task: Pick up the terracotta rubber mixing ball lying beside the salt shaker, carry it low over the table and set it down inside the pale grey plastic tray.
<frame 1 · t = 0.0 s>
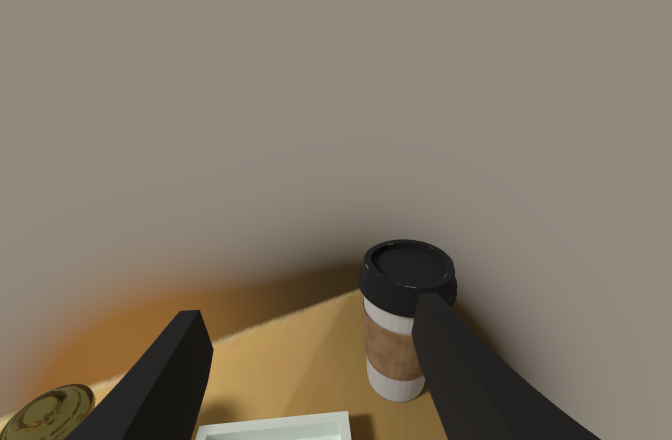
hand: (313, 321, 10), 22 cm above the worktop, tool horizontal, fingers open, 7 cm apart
coffee cup: (395, 376, 32), on the worktop
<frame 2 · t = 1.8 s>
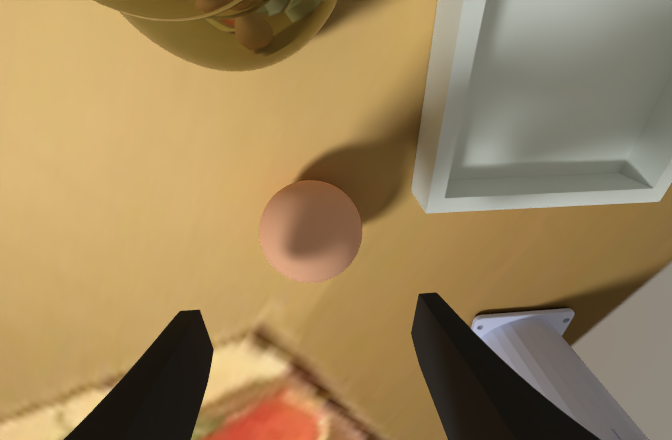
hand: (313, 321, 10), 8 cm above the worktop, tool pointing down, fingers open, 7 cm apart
ball: (310, 206, 17), on the worktop
tray: (558, 64, 14), on the worktop
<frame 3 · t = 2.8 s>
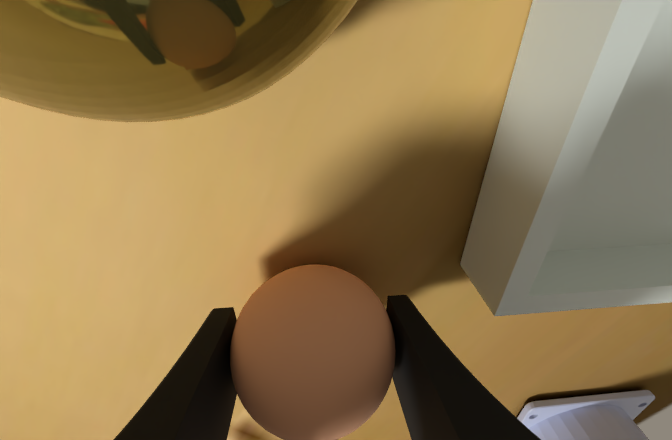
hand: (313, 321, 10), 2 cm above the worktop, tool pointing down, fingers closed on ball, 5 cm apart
ball: (312, 287, 12), on the worktop, touching gripper
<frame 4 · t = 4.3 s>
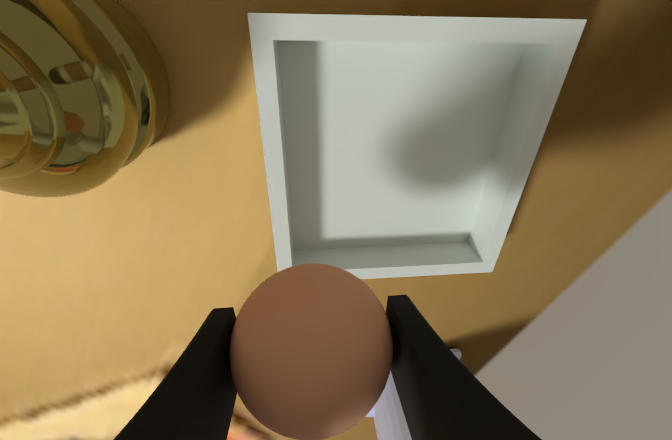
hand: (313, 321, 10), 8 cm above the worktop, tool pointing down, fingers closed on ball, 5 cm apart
ball: (308, 286, 12), point 7 cm above the worktop, touching gripper
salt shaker: (85, 75, 13), on the worktop
tray: (390, 158, 16), on the worktop
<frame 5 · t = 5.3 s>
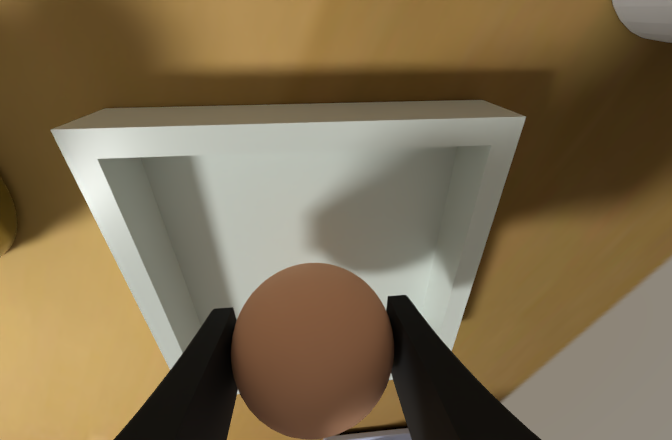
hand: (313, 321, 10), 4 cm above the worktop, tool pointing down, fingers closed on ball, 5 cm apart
ball: (308, 286, 12), point 2 cm above the worktop, touching gripper
tray: (311, 252, 14), on the worktop
when the fingers open (3 cm above the worktop, at t = 5.9 s): ball drops 1 cm, resting on tray.
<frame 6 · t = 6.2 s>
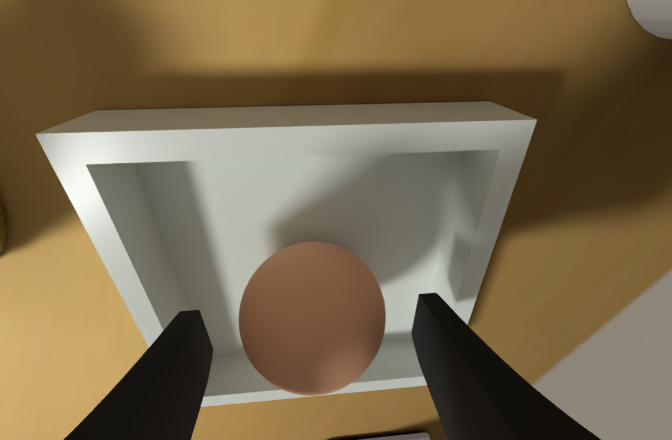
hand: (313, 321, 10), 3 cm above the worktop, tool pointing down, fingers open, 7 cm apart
ball: (308, 266, 13), point 1 cm above the worktop, touching tray
tray: (311, 258, 13), on the worktop
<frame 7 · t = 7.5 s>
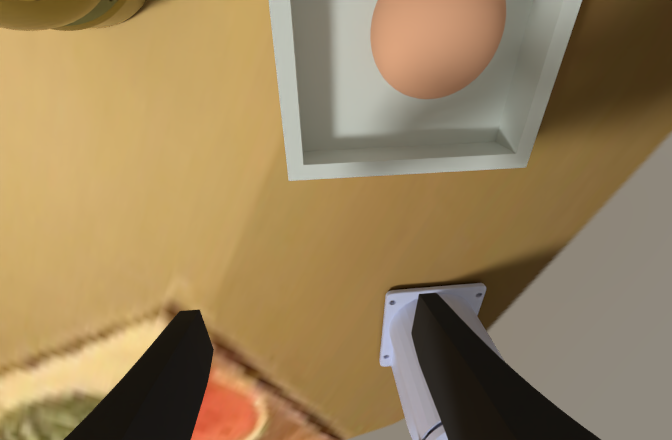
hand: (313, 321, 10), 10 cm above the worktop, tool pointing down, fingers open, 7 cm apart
ball: (410, 31, 14), point 1 cm above the worktop, touching tray
tray: (409, 30, 15), on the worktop
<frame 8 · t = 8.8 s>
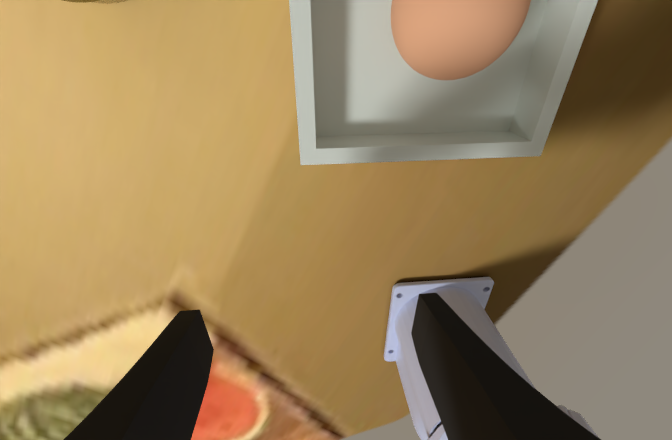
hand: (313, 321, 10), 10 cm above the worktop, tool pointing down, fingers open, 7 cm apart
ball: (427, 14, 14), point 1 cm above the worktop, tilted 6°, touching tray
tray: (426, 13, 14), on the worktop
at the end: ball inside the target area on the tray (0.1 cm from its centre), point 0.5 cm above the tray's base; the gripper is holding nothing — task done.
